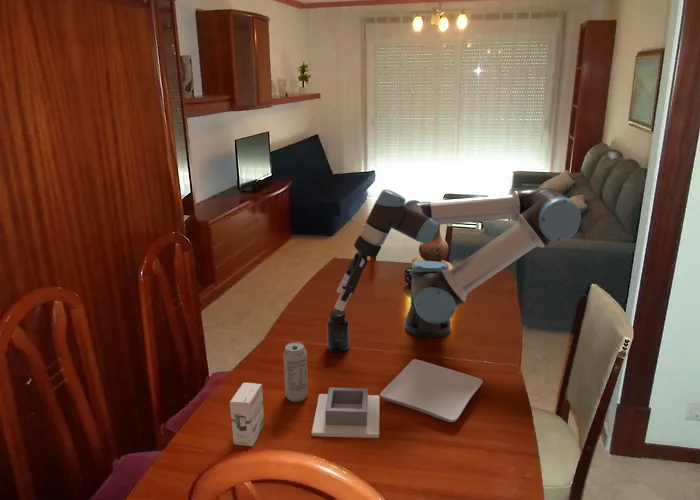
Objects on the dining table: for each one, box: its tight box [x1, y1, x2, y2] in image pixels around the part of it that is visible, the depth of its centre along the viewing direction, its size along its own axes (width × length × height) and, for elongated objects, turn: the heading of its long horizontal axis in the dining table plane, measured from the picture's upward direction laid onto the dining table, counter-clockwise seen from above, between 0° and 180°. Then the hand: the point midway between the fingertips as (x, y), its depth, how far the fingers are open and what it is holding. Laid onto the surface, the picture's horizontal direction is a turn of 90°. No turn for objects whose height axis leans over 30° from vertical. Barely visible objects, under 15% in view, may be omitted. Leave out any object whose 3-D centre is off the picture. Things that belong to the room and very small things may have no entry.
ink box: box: [229, 382, 265, 447], centre depth 126 cm, size 9×5×12 cm, turn 169°
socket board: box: [311, 387, 381, 439], centre depth 133 cm, size 16×16×5 cm
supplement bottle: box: [326, 309, 350, 353], centre depth 166 cm, size 7×7×12 cm
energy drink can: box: [282, 341, 309, 403], centre depth 140 cm, size 6×6×15 cm
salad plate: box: [379, 358, 484, 423], centre depth 142 cm, size 21×21×3 cm
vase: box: [403, 225, 454, 291], centre depth 208 cm, size 24×22×35 cm
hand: (339, 300), depth 162 cm, fingers open, 13 cm apart
